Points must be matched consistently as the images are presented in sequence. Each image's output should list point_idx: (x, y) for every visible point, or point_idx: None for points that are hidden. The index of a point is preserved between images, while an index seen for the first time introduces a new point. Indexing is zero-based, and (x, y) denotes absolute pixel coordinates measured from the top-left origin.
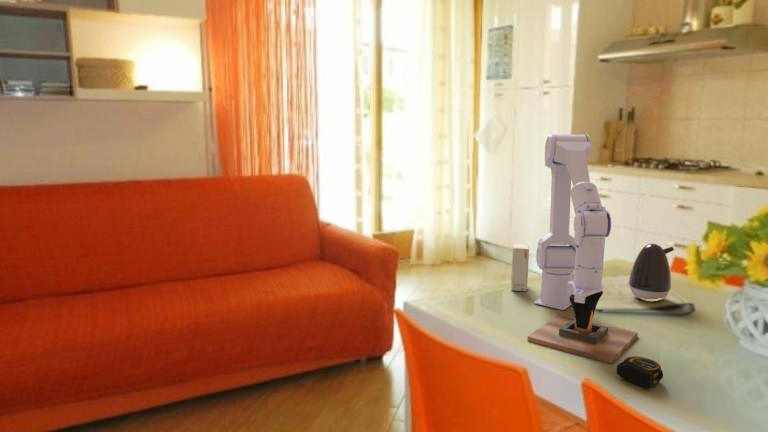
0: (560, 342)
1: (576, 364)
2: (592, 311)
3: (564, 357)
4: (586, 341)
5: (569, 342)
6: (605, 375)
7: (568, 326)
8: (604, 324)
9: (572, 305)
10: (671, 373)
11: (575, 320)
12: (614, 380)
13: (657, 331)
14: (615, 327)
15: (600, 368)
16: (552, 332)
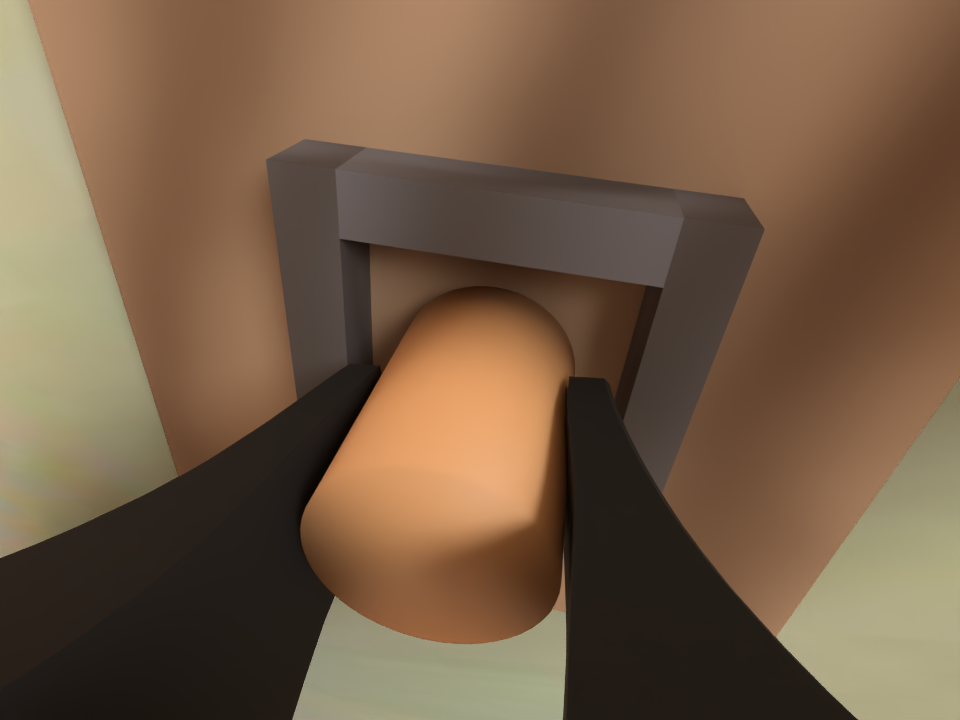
0: (151, 207)
1: (34, 357)
2: (419, 636)
3: (46, 271)
4: None
5: (217, 279)
6: (68, 490)
7: (416, 243)
8: (879, 481)
9: (19, 555)
10: (328, 679)
11: (399, 365)
12: (62, 521)
13: (920, 706)
14: (822, 550)
15: (115, 468)
16: (324, 40)
